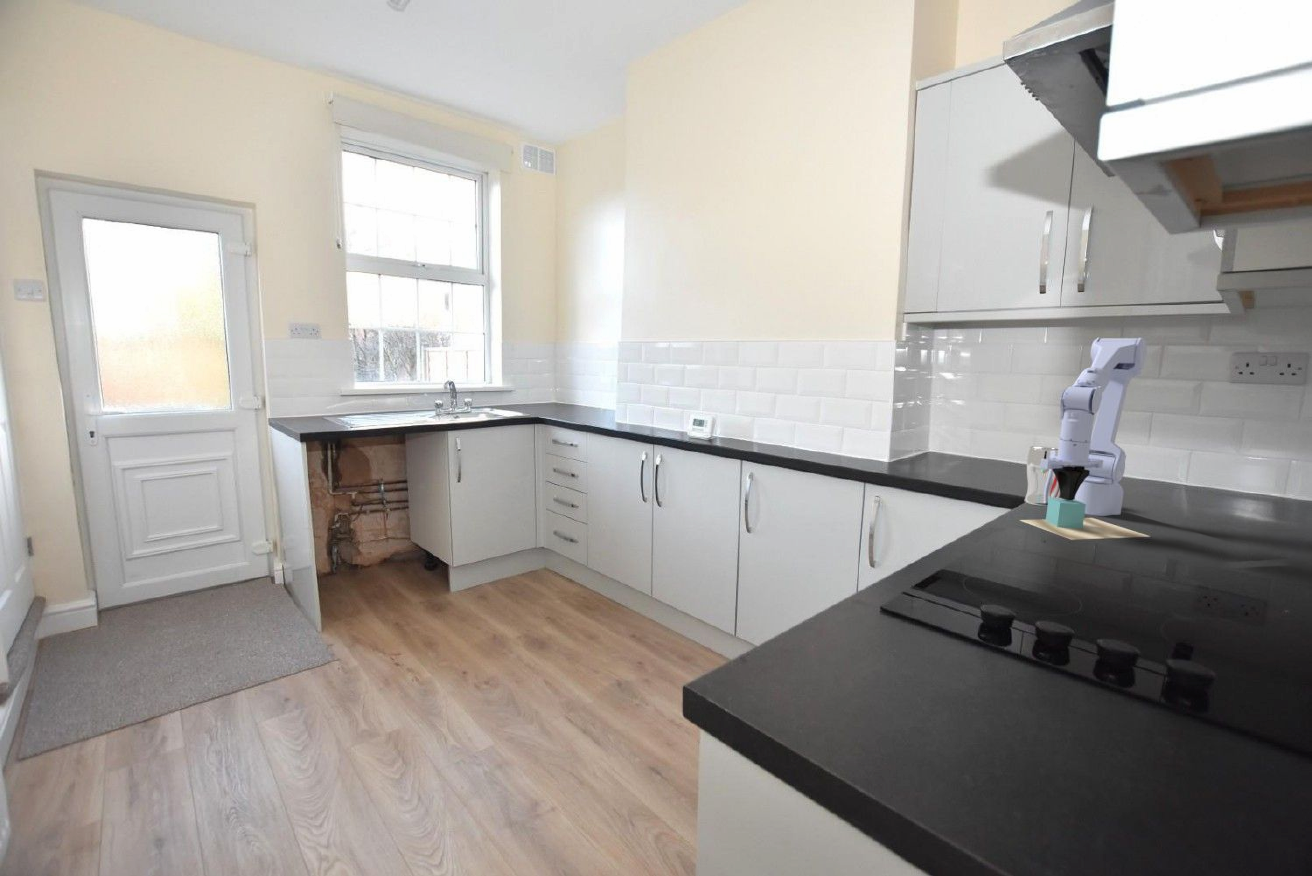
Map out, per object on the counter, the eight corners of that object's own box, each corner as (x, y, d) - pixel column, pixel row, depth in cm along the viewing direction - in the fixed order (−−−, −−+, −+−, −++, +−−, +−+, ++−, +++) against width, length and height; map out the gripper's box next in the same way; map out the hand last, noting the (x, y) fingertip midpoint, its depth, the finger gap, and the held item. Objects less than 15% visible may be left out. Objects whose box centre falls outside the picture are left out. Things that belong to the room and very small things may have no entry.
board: (1091, 521, 140) (1094, 501, 140) (1149, 540, 127) (1153, 518, 126) (1019, 524, 137) (1021, 503, 136) (1071, 544, 123) (1074, 521, 122)
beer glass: (1052, 502, 158) (1059, 447, 156) (1054, 508, 152) (1061, 451, 150) (1022, 498, 162) (1028, 445, 159) (1022, 503, 156) (1029, 448, 153)
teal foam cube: (1070, 521, 136) (1073, 498, 135) (1082, 528, 131) (1085, 504, 130) (1045, 520, 137) (1048, 497, 136) (1057, 526, 132) (1060, 502, 131)
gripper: (1086, 437, 136) (1078, 493, 138) (1032, 437, 134) (1025, 495, 136) (1114, 442, 129) (1106, 501, 132) (1058, 442, 127) (1050, 503, 129)
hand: (1067, 499), depth 133 cm, fingers closed
